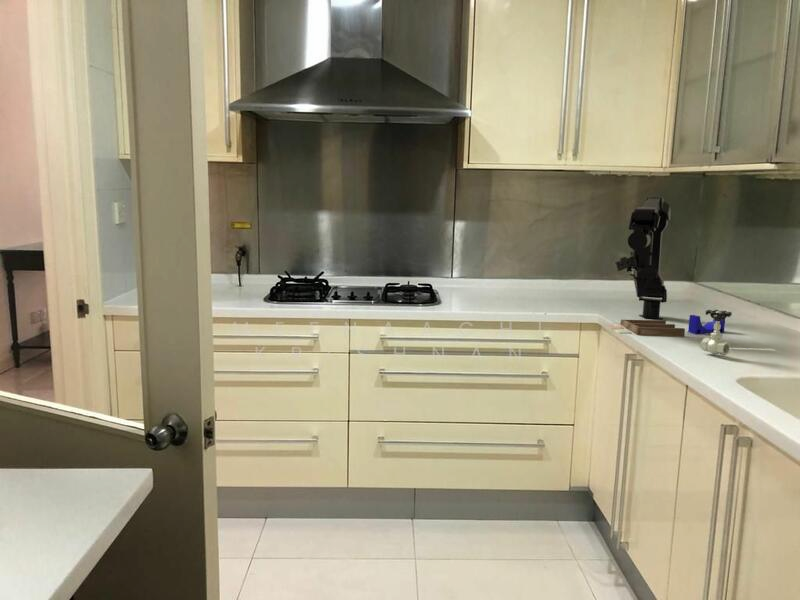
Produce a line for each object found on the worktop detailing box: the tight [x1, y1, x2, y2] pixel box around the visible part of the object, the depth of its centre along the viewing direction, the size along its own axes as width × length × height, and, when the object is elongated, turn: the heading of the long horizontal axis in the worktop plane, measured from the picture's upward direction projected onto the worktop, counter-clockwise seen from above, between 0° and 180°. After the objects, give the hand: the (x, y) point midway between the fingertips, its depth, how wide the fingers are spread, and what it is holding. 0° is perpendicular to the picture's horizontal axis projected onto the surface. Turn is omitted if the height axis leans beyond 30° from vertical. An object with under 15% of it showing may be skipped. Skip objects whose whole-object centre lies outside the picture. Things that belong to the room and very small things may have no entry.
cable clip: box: [687, 314, 726, 335], centre depth 214 cm, size 12×4×6 cm, turn 110°
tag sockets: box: [608, 319, 686, 337], centre depth 213 cm, size 15×20×2 cm
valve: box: [700, 309, 732, 356], centre depth 181 cm, size 7×7×12 cm
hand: (638, 296), depth 209 cm, fingers closed
